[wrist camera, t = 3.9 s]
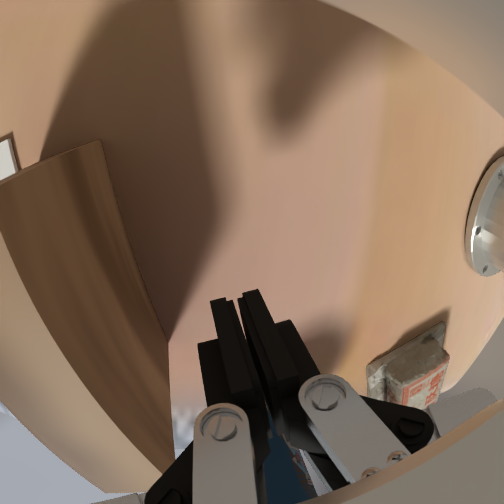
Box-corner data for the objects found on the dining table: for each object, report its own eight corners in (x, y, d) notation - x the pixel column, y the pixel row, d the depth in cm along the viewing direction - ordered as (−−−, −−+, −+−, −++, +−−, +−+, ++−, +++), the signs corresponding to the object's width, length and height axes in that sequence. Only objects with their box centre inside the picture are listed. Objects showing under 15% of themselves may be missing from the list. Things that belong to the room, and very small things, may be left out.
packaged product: (385, 397, 23) (467, 344, 24) (361, 362, 27) (439, 317, 28) (381, 459, 32) (441, 422, 32) (366, 434, 36) (424, 400, 36)
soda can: (206, 439, 27) (229, 545, 16) (232, 401, 25) (266, 526, 14) (266, 442, 29) (298, 535, 19) (298, 406, 27) (343, 510, 17)
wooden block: (101, 138, 14) (-13, 192, 5) (168, 343, 21) (178, 489, 11) (39, 161, 14) (-95, 240, 4) (117, 353, 20) (105, 492, 10)
